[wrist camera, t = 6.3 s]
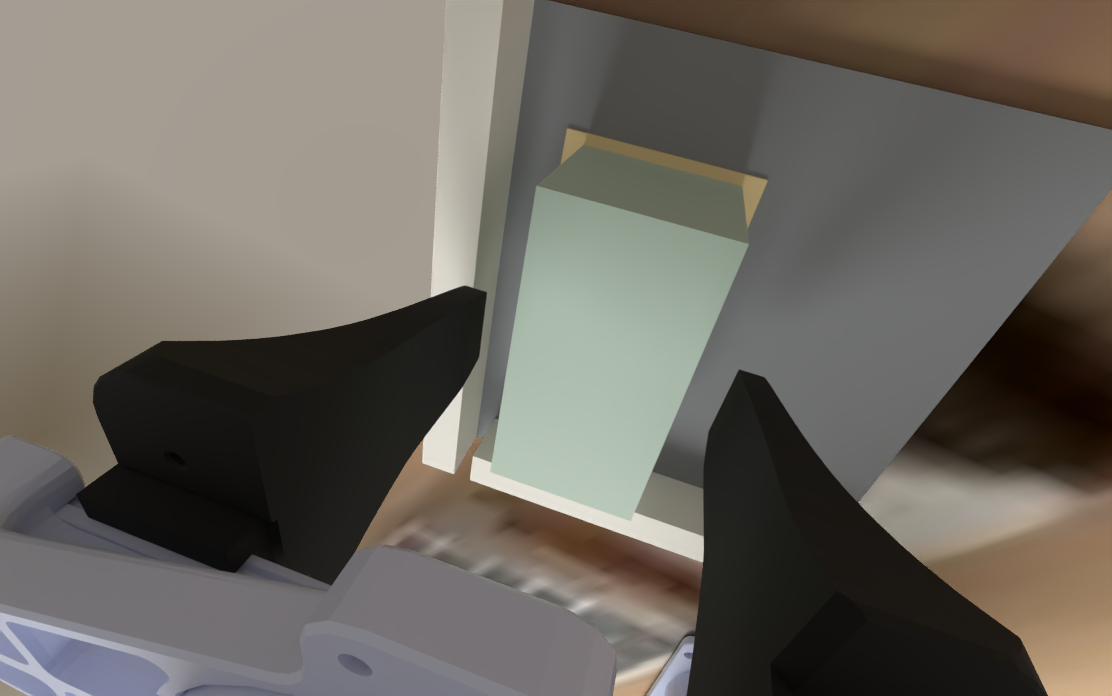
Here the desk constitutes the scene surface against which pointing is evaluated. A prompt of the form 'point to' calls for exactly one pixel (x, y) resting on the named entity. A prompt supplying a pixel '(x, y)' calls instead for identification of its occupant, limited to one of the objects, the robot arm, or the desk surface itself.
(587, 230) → the sage block
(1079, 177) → the arena
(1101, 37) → the desk surface
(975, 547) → the desk surface
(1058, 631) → the desk surface
